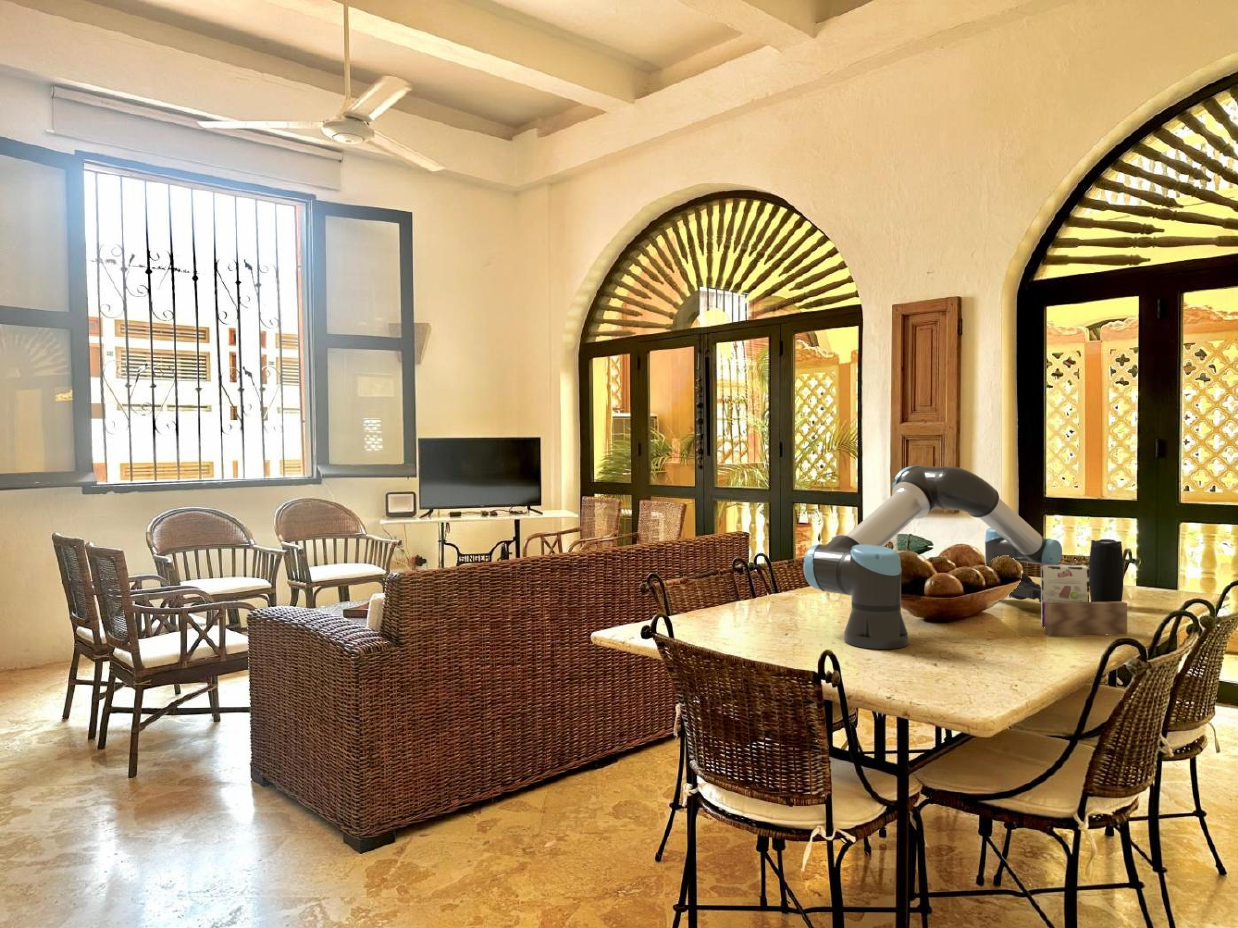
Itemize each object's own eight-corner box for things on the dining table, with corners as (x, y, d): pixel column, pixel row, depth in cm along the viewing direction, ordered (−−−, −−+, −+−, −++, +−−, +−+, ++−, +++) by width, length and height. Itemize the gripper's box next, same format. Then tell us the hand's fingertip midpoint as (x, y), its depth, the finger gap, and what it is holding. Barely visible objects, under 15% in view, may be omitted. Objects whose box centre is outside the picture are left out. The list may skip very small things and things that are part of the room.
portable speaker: (1087, 607, 253) (1087, 541, 252) (1092, 602, 260) (1092, 537, 260) (1121, 610, 247) (1120, 542, 247) (1125, 605, 255) (1125, 539, 255)
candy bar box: (1087, 627, 227) (1087, 564, 227) (1090, 631, 222) (1090, 567, 222) (1040, 624, 231) (1040, 563, 231) (1041, 628, 227) (1041, 565, 226)
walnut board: (1050, 636, 217) (1050, 604, 217) (1044, 634, 219) (1044, 603, 219) (1127, 634, 218) (1127, 603, 218) (1120, 632, 221) (1120, 601, 220)
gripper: (1036, 597, 254) (1084, 613, 231) (993, 598, 253) (1036, 614, 230) (1036, 571, 254) (1084, 584, 230) (993, 572, 253) (1036, 585, 230)
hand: (1060, 599), depth 230 cm, fingers closed
